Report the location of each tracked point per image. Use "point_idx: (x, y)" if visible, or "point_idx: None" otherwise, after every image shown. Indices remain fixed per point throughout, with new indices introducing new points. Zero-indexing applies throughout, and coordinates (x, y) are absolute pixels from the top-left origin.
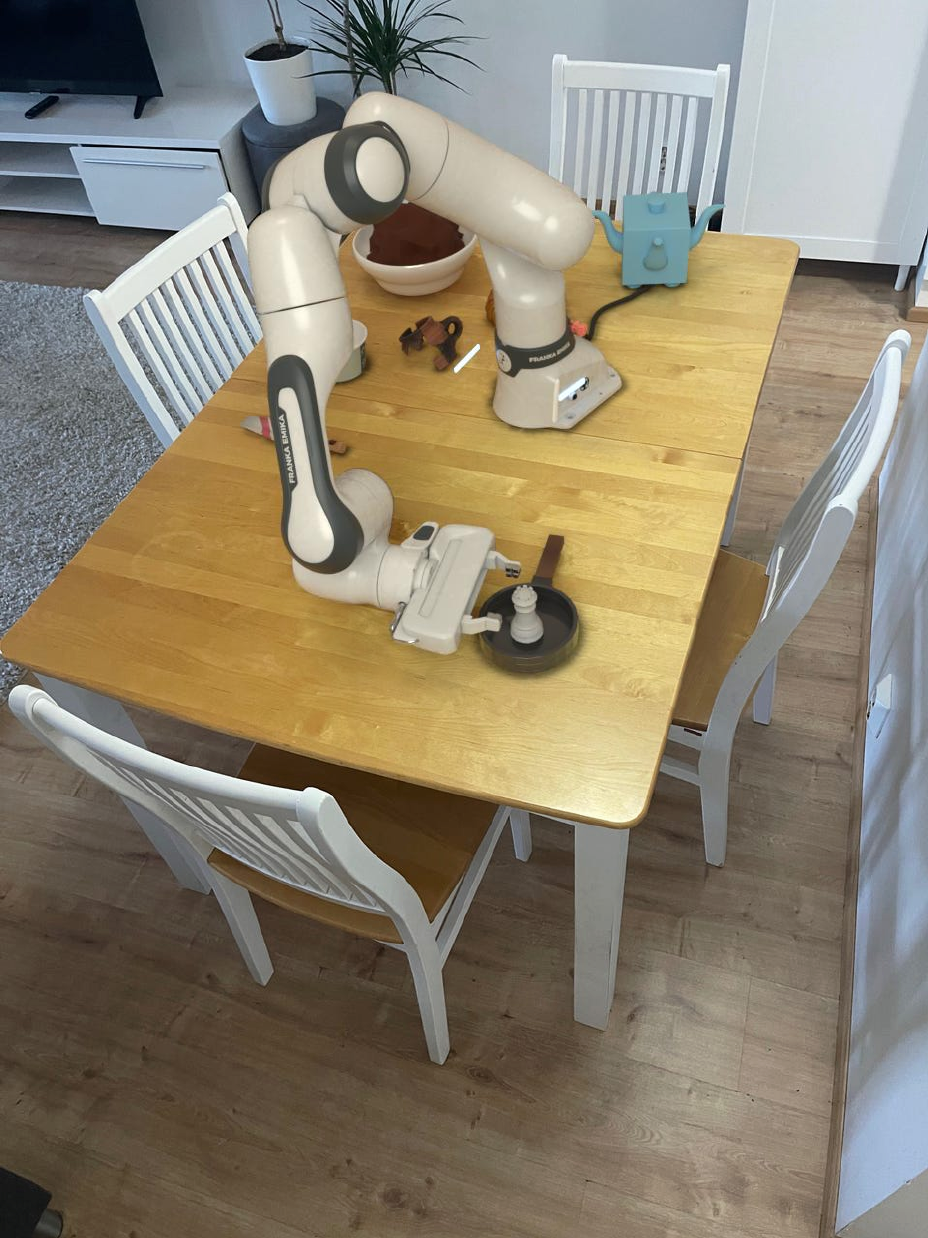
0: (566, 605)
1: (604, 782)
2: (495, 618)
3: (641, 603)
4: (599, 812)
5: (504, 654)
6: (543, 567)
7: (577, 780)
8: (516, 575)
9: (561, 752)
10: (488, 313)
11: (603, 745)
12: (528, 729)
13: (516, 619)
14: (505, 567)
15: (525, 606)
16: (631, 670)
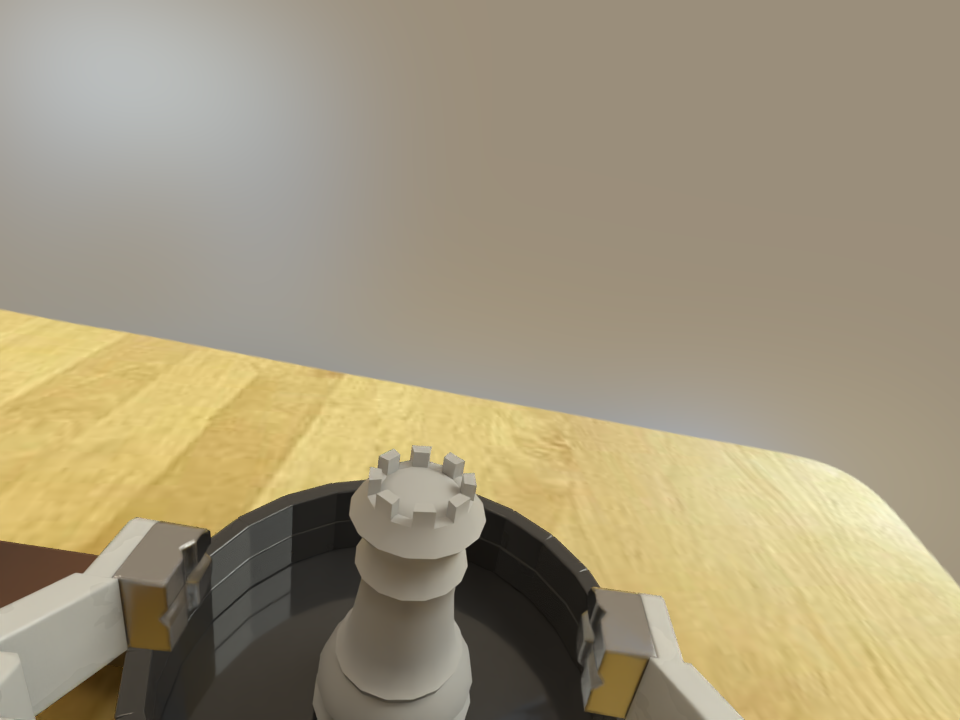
0: (290, 530)
1: (815, 500)
2: (636, 606)
3: (265, 422)
4: (886, 508)
5: None
6: (34, 586)
7: (855, 543)
8: (207, 570)
9: (813, 575)
10: None
11: (729, 499)
12: (812, 664)
13: (429, 656)
14: (162, 583)
15: (482, 503)
16: (495, 449)
